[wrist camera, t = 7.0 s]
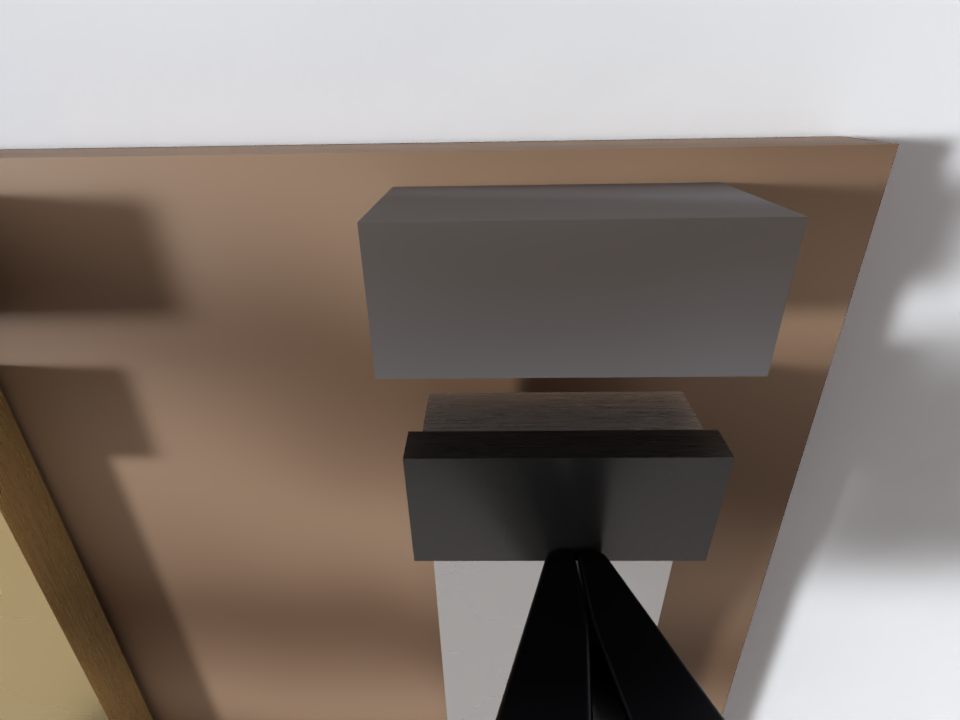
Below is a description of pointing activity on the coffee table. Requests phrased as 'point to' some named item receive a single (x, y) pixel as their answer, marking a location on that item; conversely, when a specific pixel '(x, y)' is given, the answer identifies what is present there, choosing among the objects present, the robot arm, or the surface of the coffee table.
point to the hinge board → (302, 433)
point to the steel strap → (550, 510)
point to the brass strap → (51, 608)
